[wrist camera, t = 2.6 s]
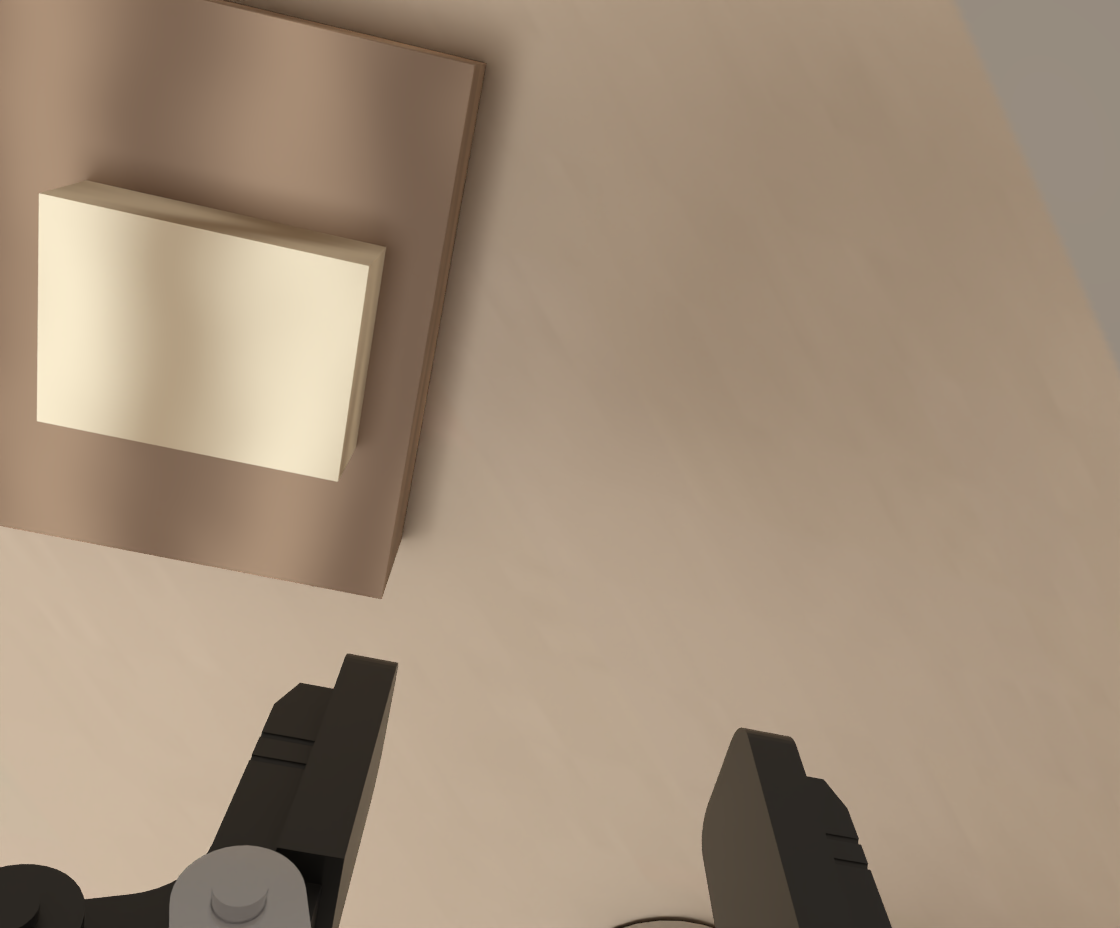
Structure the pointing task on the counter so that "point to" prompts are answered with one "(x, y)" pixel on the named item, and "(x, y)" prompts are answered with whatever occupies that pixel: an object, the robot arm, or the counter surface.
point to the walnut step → (247, 189)
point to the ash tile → (203, 328)
